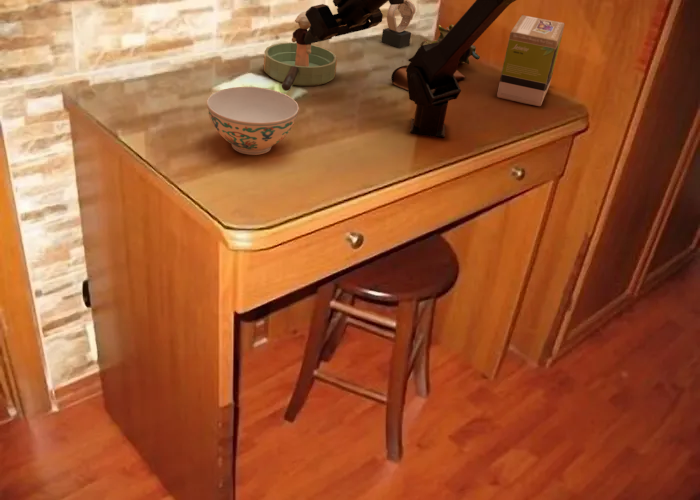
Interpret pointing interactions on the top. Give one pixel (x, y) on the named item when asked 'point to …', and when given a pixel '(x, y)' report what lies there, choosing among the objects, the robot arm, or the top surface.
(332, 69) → the pan
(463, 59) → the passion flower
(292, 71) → the pan handle
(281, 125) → the chinaware
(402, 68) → the sunglasses case
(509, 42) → the tea box
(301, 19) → the grandmother figurine
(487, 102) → the top surface
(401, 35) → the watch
